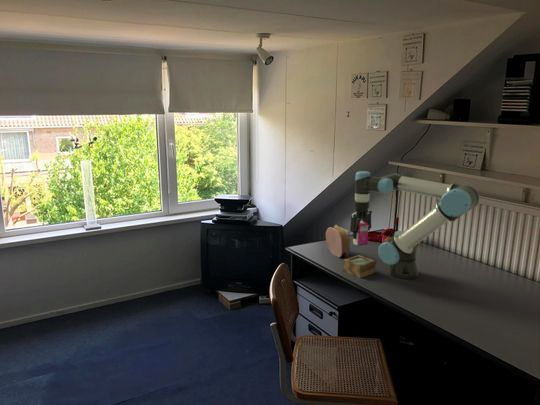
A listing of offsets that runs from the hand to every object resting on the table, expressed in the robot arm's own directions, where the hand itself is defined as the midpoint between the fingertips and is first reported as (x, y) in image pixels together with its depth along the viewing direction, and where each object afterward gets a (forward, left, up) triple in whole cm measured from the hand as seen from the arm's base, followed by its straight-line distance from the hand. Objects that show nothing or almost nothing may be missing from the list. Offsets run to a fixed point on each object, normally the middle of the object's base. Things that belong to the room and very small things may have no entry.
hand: (360, 242), depth 236 cm
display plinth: (0, 0, -17) cm, 17 cm away
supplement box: (0, 0, -1) cm, 1 cm away
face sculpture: (+28, -11, -17) cm, 34 cm away
